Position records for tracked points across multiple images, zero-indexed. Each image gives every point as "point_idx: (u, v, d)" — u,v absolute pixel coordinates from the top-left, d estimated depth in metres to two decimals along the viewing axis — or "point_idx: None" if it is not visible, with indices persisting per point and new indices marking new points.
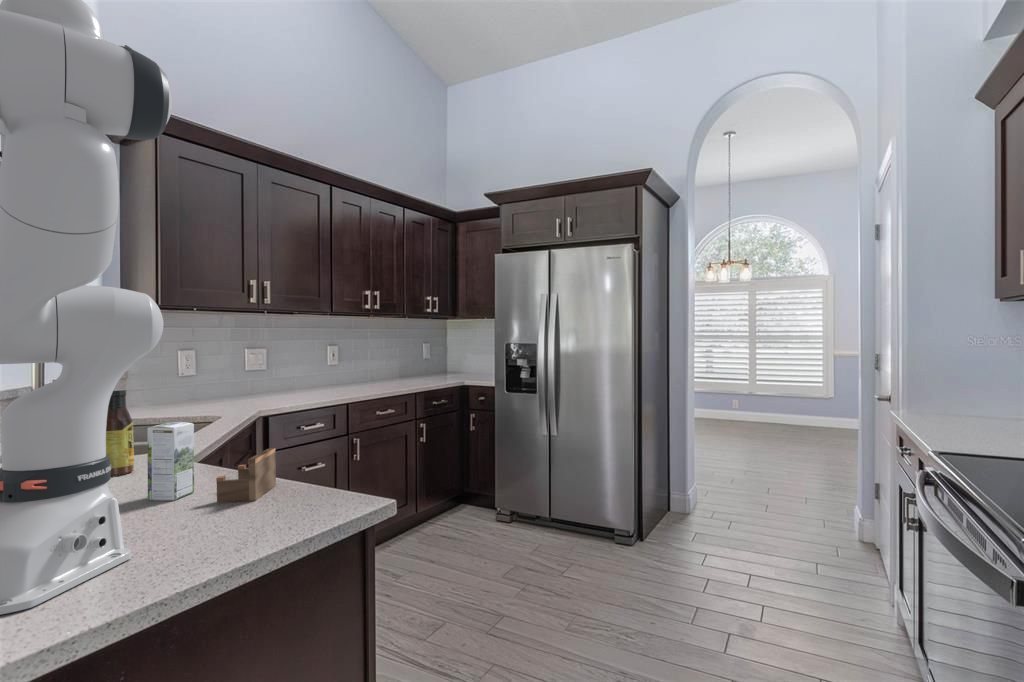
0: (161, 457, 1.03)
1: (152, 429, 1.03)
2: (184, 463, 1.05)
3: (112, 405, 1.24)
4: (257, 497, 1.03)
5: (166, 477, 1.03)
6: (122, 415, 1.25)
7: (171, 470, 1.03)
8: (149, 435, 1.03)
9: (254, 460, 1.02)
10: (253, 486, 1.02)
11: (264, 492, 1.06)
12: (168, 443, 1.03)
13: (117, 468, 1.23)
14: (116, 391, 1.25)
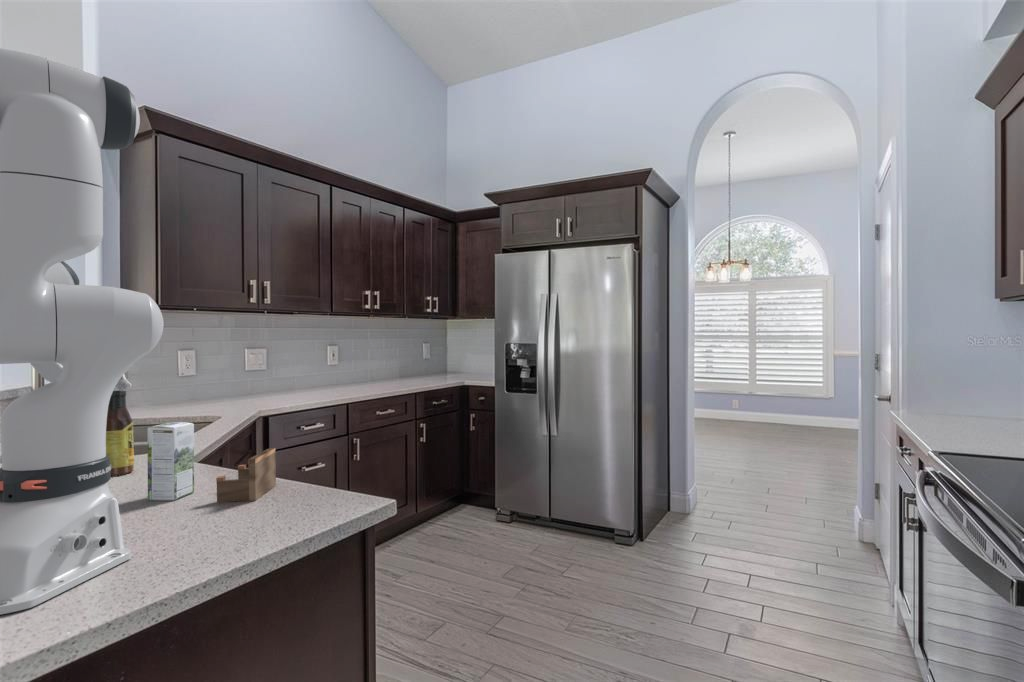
0: (161, 457, 1.03)
1: (152, 429, 1.03)
2: (184, 463, 1.05)
3: (112, 405, 1.24)
4: (257, 497, 1.03)
5: (167, 476, 1.03)
6: (122, 415, 1.25)
7: (171, 470, 1.03)
8: (149, 435, 1.03)
9: (254, 460, 1.02)
10: (253, 486, 1.02)
11: (264, 492, 1.06)
12: (169, 443, 1.03)
13: (117, 468, 1.23)
14: (116, 391, 1.25)
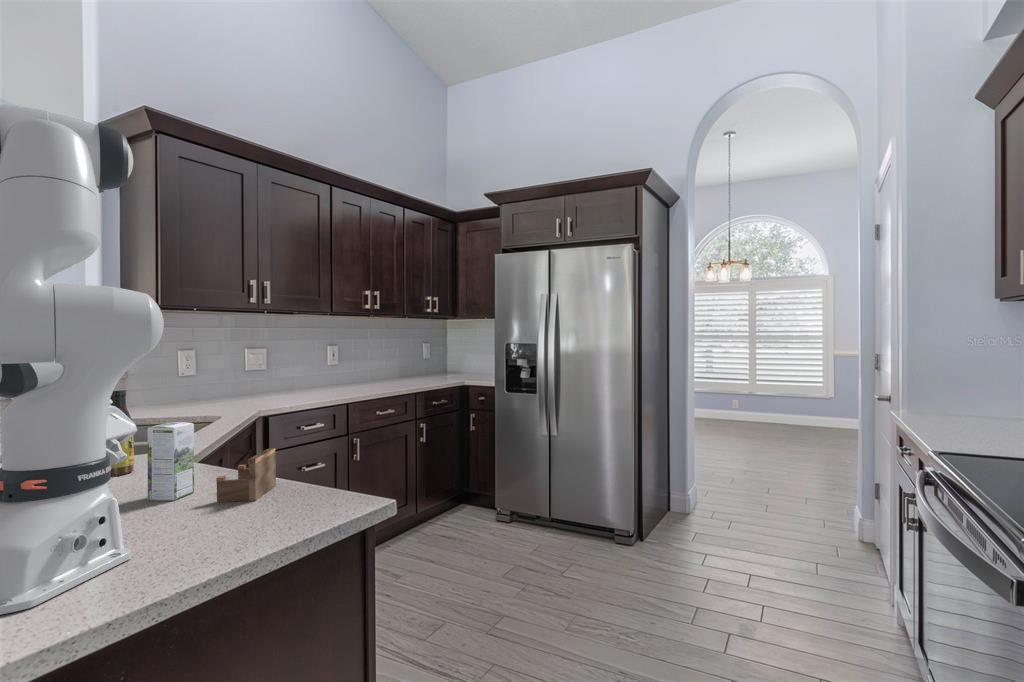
0: (161, 457, 1.03)
1: (152, 429, 1.03)
2: (184, 463, 1.05)
3: (112, 405, 1.24)
4: (257, 497, 1.03)
5: (167, 476, 1.03)
6: None
7: (171, 470, 1.03)
8: (149, 435, 1.03)
9: (254, 460, 1.02)
10: (253, 486, 1.02)
11: (264, 492, 1.06)
12: (169, 443, 1.03)
13: (117, 468, 1.23)
14: (116, 391, 1.25)
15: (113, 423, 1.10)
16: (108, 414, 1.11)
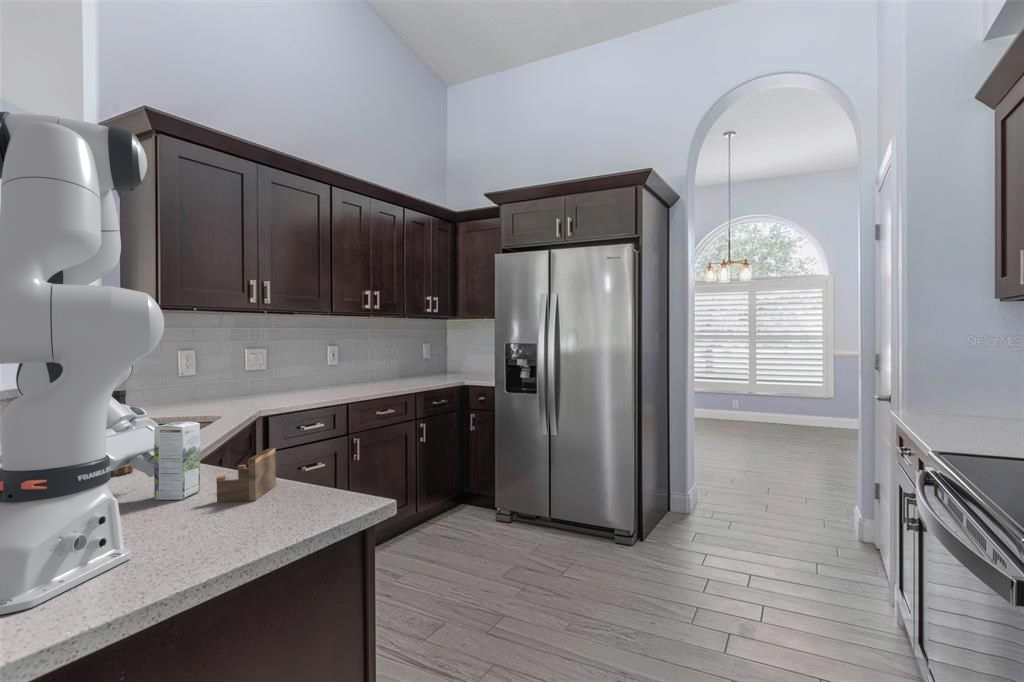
0: (169, 456, 1.03)
1: (159, 429, 1.03)
2: (191, 462, 1.06)
3: None
4: (257, 497, 1.03)
5: (174, 476, 1.03)
6: None
7: (179, 469, 1.03)
8: (156, 435, 1.03)
9: (254, 460, 1.02)
10: (253, 486, 1.02)
11: (264, 492, 1.06)
12: (177, 442, 1.03)
13: None
14: (116, 391, 1.25)
15: (149, 434, 1.10)
16: (144, 426, 1.11)
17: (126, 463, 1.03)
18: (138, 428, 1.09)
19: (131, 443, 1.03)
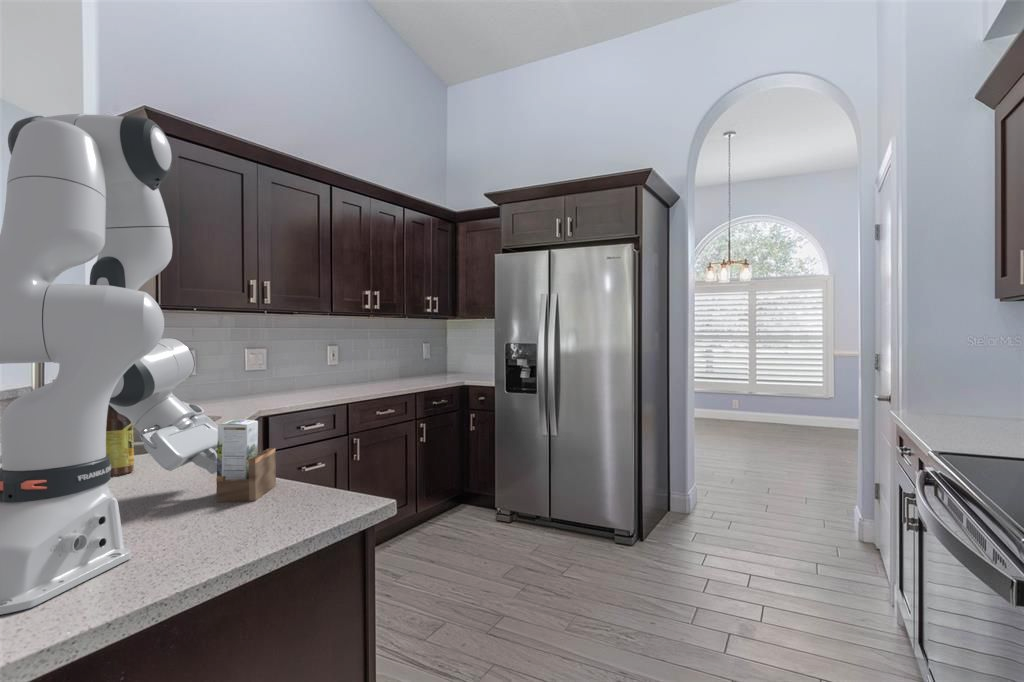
0: (232, 453, 1.05)
1: (223, 426, 1.04)
2: None
3: None
4: (257, 497, 1.03)
5: (238, 473, 1.05)
6: (122, 415, 1.25)
7: (243, 466, 1.05)
8: (220, 432, 1.04)
9: (254, 460, 1.02)
10: (253, 486, 1.02)
11: (264, 492, 1.06)
12: (241, 440, 1.05)
13: (117, 468, 1.23)
14: None
15: (207, 432, 1.11)
16: (202, 423, 1.12)
17: (189, 460, 1.04)
18: (197, 425, 1.10)
19: (193, 440, 1.05)
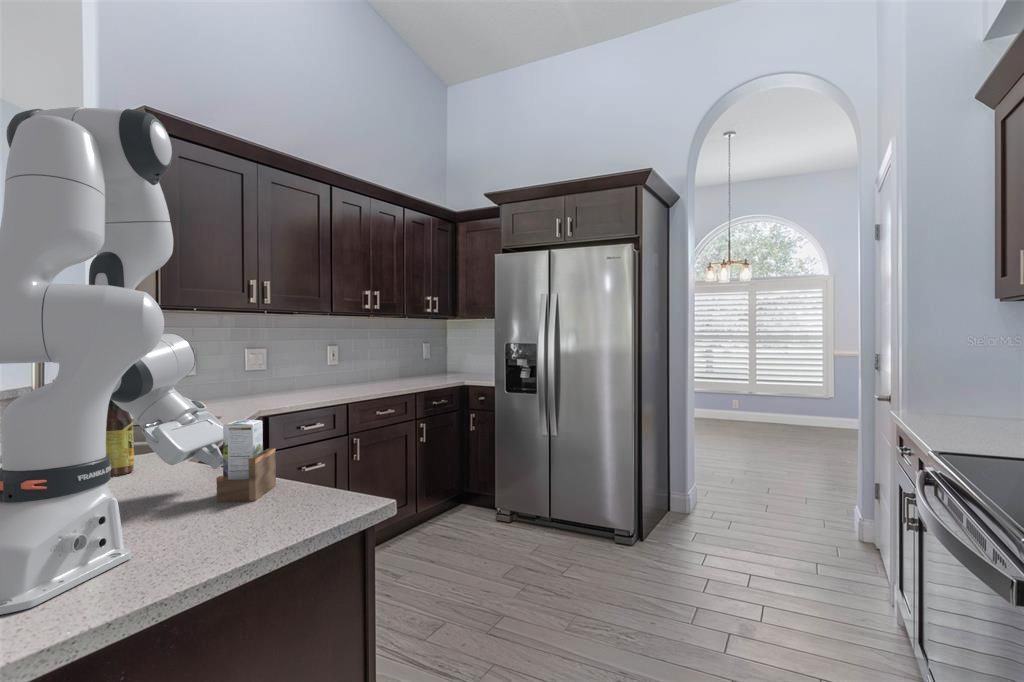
0: (238, 454, 1.04)
1: (228, 427, 1.04)
2: None
3: (112, 405, 1.24)
4: (257, 497, 1.03)
5: (245, 473, 1.05)
6: (122, 415, 1.25)
7: None
8: (225, 433, 1.04)
9: (254, 460, 1.02)
10: (253, 486, 1.02)
11: (264, 492, 1.06)
12: (247, 440, 1.05)
13: (117, 468, 1.23)
14: None
15: (210, 428, 1.11)
16: (204, 419, 1.12)
17: (191, 455, 1.03)
18: (200, 421, 1.10)
19: (196, 435, 1.04)
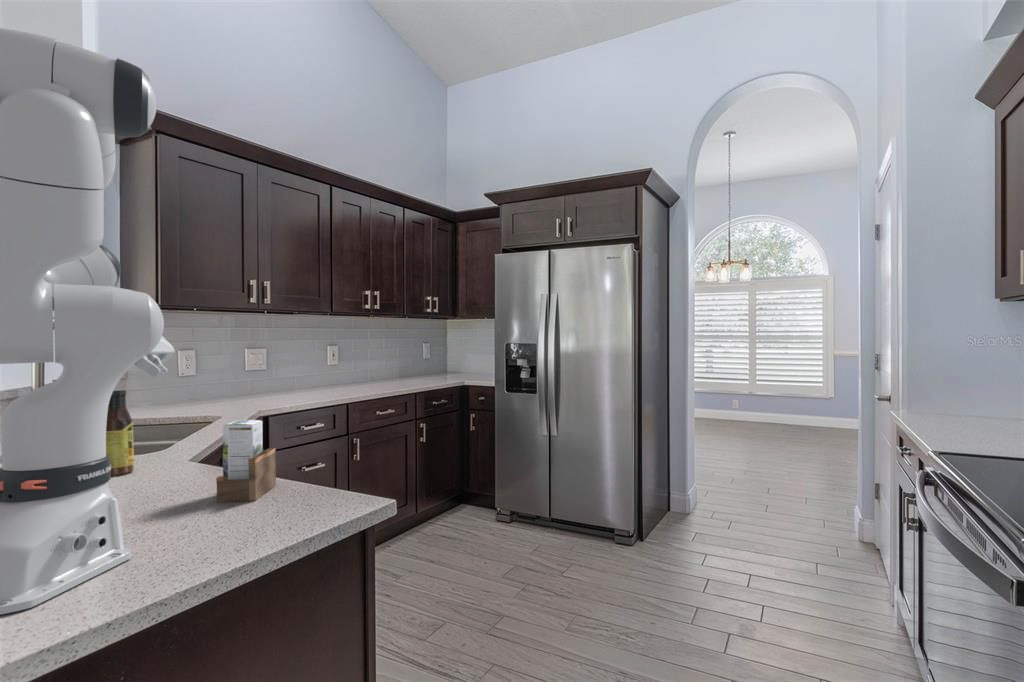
0: (238, 454, 1.04)
1: (228, 427, 1.04)
2: None
3: (112, 405, 1.24)
4: (257, 497, 1.03)
5: (244, 473, 1.05)
6: (122, 415, 1.25)
7: None
8: (225, 433, 1.04)
9: (254, 460, 1.02)
10: (253, 486, 1.02)
11: (264, 492, 1.06)
12: (247, 440, 1.05)
13: (117, 468, 1.23)
14: (116, 391, 1.25)
15: None
16: None
17: None
18: None
19: None
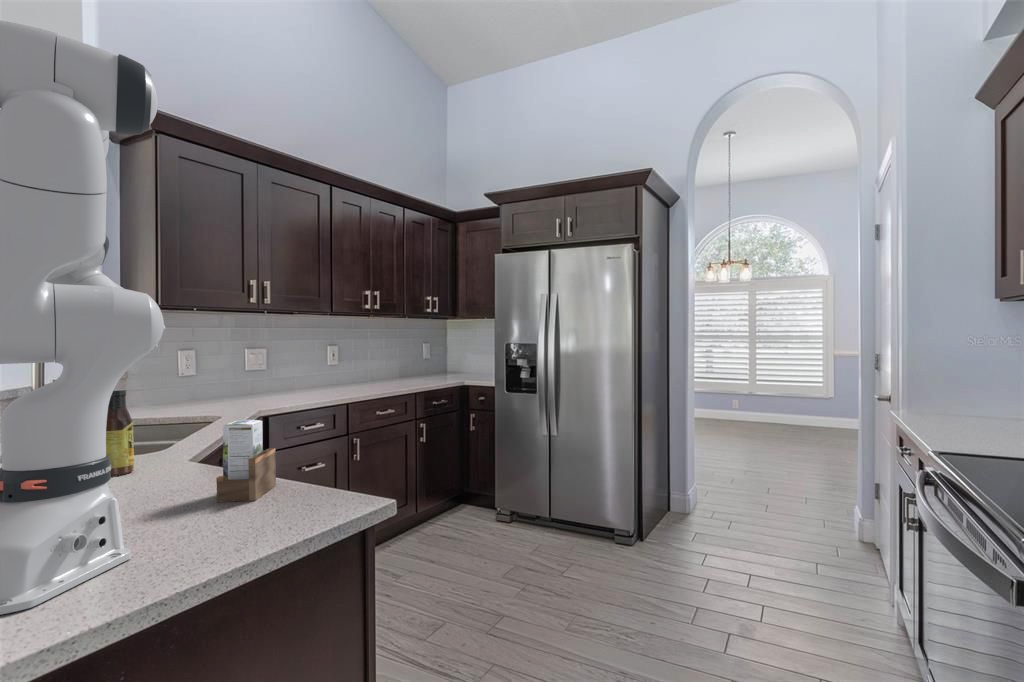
0: (238, 454, 1.04)
1: (228, 427, 1.04)
2: None
3: (112, 405, 1.24)
4: (257, 497, 1.03)
5: (244, 473, 1.05)
6: (122, 415, 1.25)
7: None
8: (225, 433, 1.04)
9: (254, 460, 1.02)
10: (253, 486, 1.02)
11: (264, 492, 1.06)
12: (247, 440, 1.05)
13: (117, 468, 1.23)
14: (116, 391, 1.25)
15: None
16: None
17: None
18: None
19: None
